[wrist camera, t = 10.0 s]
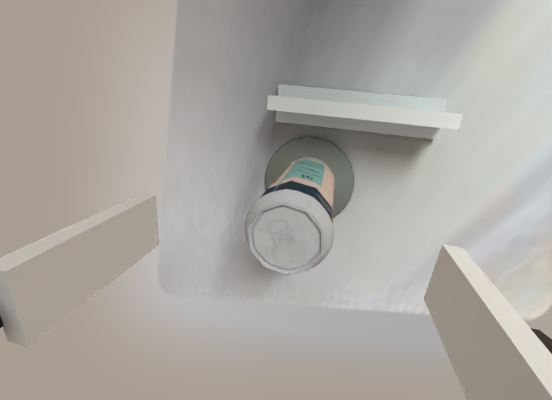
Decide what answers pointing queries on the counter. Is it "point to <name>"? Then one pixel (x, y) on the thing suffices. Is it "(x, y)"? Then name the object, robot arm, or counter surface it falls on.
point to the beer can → (294, 218)
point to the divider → (363, 111)
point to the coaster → (324, 153)
